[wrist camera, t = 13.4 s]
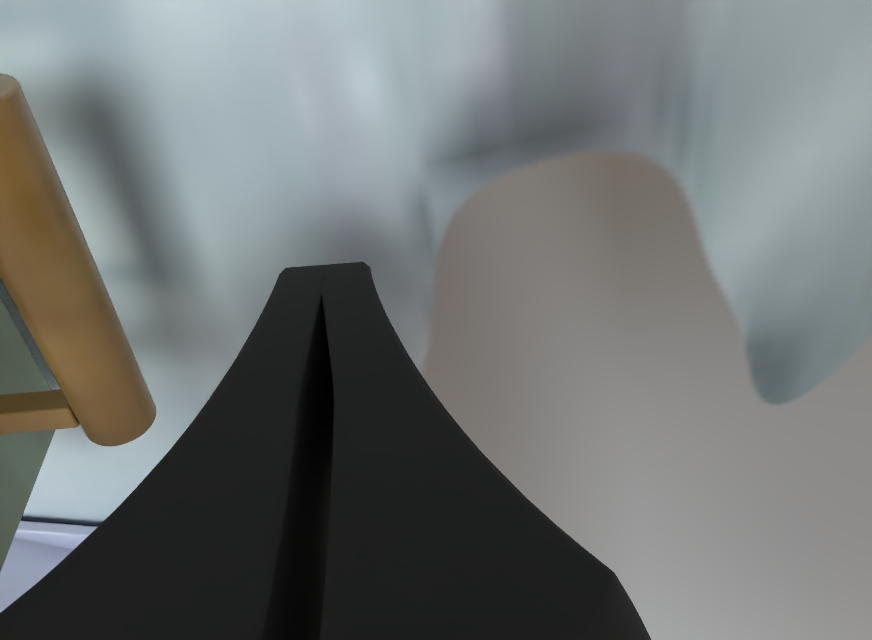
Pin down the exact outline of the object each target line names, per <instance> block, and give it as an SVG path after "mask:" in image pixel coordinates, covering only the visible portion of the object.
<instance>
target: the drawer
mask: <svg viewBox="0 0 872 640" xmlns="http://www.w3.org/2000/svg"><path fill="white" fill-rule="evenodd" d="M0 278H1V280H2V282H3V284H4V285H5V287H6V289H7V291H8V293H9V295H10V296H11V298H12V300H13V302H14V304H15V305H16V307H17V309H18V311H19V313H20V315H21V316H22V318H23V320H24V322H25V324H26V326H27V327H28V329H29V331H30V333H31V335H32V337H33V338H34V340H35V342H36V344H37V346H38V348H39V349H40V351H41V353H42V355H43V357H44V359H45V360H46V362H47V364H48V366H49V368H50V370H51V371H52V373H53V375H54V377H55V379H56V381H57V382H58V384H59V386H60V388H61V389H58V390H52V389H51V387H50V385H49V384H48V382H47V380H46V378H45V376H44V375H43V373H42V371H41V369H40V368H39V366H38V364H37V362H36V360H35V359H34V357H33V355H32V353H31V351H30V350H29V348H28V346H27V344H26V342H25V341H24V339H23V337H22V335H21V334H20V332H19V330H18V328H17V326H16V325H15V323H14V321H13V319H12V317H11V316H10V314H9V312H8V310H7V308H6V307H5V305H4V303H3V301H2V300H1V298H0V572H1V570H2V567H3V565H4V562H5V559H6V557H7V554H8V552H9V549H10V546H11V544H12V541H13V539H14V536H15V533H16V531H17V528H18V526H19V523H20V520H21V518H22V515H23V513H24V510H25V507H26V505H27V502H28V500H29V497H30V495H31V492H32V489H33V487H34V484H35V482H36V479H37V476H38V474H39V471H40V469H41V466H42V463H43V461H44V458H45V456H46V453H47V450H48V448H49V445H50V443H51V440H52V437H53V435H54V432H55V430H56V429H65V428H76V427H78V426H79V423H80V425H81V426H82V428H83V430H84V432H85V434H86V436H87V437H88V438H89V439H90V440H91V441H92V442H94V443H96V444H98V445H102V446H117V445H122V444H125V443H128V442H130V441H133V440H135V439H136V438H138V437H140V436H141V435H142V434H144V433H145V432H146V431H147V430H148V429H149V428H150V426H151V425H152V424H153V422H154V420H155V417H156V406H155V403H154V401H153V399H152V396H151V394H150V391H149V389H148V387H147V384H146V382H145V380H144V377H143V375H142V372H141V370H140V368H139V365H138V363H137V361H136V358H135V356H134V353H133V351H132V349H131V346H130V344H129V342H128V339H127V337H126V335H125V332H124V330H123V327H122V325H121V323H120V320H119V318H118V316H117V313H116V311H115V308H114V306H113V304H112V301H111V299H110V297H109V294H108V292H107V290H106V287H105V285H104V282H103V280H102V278H101V275H100V273H99V271H98V268H97V266H96V263H95V261H94V259H93V256H92V254H91V252H90V249H89V247H88V244H87V242H86V240H85V237H84V235H83V233H82V230H81V228H80V226H79V223H78V221H77V218H76V216H75V214H74V211H73V209H72V207H71V204H70V202H69V199H68V197H67V195H66V192H65V190H64V188H63V185H62V183H61V181H60V178H59V176H58V173H57V171H56V169H55V166H54V164H53V162H52V159H51V157H50V154H49V152H48V150H47V147H46V145H45V143H44V140H43V138H42V135H41V133H40V131H39V128H38V126H37V124H36V121H35V119H34V117H33V114H32V112H31V109H30V107H29V105H28V102H27V100H26V98H25V95H24V93H23V90H22V88H21V86H20V83H19V82H18V81H17V80H16V79H15V78H14V77H12V76H9V75H5V74H0Z"/></svg>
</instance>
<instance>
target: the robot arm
mask: <svg viewBox="0 0 872 640" xmlns="http://www.w3.org/2000/svg"><path fill="white" fill-rule="evenodd" d="M0 640H651V638H650V636H649V634H648V632H647V630H646V628H645V626H644V624H643V622H642V620H641V618H640V616H639V614H638V612H637V610H636V609H635V607H634V605H633V603H632V601H631V600H630V598H629V596H628V595H627V593H626V591H625V589H624V588H623V586H622V585H621V583H620V581H619V580H618V578H617V576H616V575H615V574H614V572H613V571H612V570H611V569H609V568H608V567H607V566H606V565H604V564H603V563H602V562H600V561H599V560H598V559H597V558H595V557H594V556H593V555H592V554H590V553H589V552H588V551H587V550H585V549H584V548H583V547H582V546H580V545H579V544H578V543H577V542H575V540H573V539H572V538H571V537H570V536H569V535H567V534H566V533H565V532H564V531H563V530H562V529H560V528H559V527H558V526H557V525H556V524H554V523H553V522H552V521H551V520H550V519H549V518H548V517H547V516H546V515H545V514H543V513H542V512H541V511H540V510H539V509H538V508H537V507H536V506H535V505H534V504H533V503H531V502H530V501H529V500H528V499H527V498H526V497H525V496H524V495H523V494H522V493H521V492H520V491H519V490H518V489H517V488H516V487H515V486H514V485H513V484H512V483H511V482H510V481H509V480H508V479H507V478H506V477H505V476H504V475H503V474H502V473H501V472H500V471H499V470H498V469H497V468H496V467H495V466H494V465H493V464H492V463H491V461H490V460H489V459H488V458H486V456H485V455H484V454H483V453H482V452H481V451H480V450H479V449H478V448H477V446H476V445H475V444H474V443H473V442H472V441H471V440H470V438H469V437H468V436H467V435H466V434H465V433H464V431H463V430H462V429H461V428H460V427H459V425H458V424H457V423H456V421H455V420H454V419H453V418H452V416H451V415H450V414H449V413H448V412H447V411H446V409H445V408H444V406H443V405H442V404H441V402H440V401H439V400H438V398H437V397H436V396H435V394H434V393H433V391H432V390H431V389H430V387H429V386H428V384H427V383H426V381H425V380H424V378H423V377H422V375H421V374H420V372H419V371H418V369H417V368H416V366H415V364H414V363H413V361H412V360H411V358H410V356H409V355H408V353H407V352H406V350H405V348H404V346H403V344H402V343H401V341H400V339H399V337H398V335H397V334H396V332H395V330H394V328H393V326H392V325H391V323H390V321H389V319H388V317H387V315H386V312H385V310H384V308H383V306H382V303H381V301H380V299H379V296H378V294H377V291H376V288H375V286H374V282H373V279H372V275H371V269H370V267H369V266H368V265H366V264H365V263H364V262H355V263H342V264H329V265H316V266H303V267H290V268H285V269H284V270H283V271H282V272H281V273H280V274H279V277H278V279H277V282H276V284H275V286H274V289H273V291H272V293H271V295H270V297H269V299H268V302H267V304H266V306H265V308H264V309H263V311H262V313H261V315H260V317H259V319H258V321H257V323H256V325H255V327H254V328H253V330H252V332H251V333H250V335H249V337H248V339H247V340H246V342H245V344H244V346H243V347H242V349H241V351H240V352H239V354H238V356H237V358H236V359H235V361H234V362H233V364H232V366H231V367H230V369H229V370H228V372H227V373H226V375H225V376H224V378H223V379H222V381H221V382H220V384H219V385H218V386H217V388H216V389H215V391H214V392H213V394H212V395H211V397H210V398H209V400H208V401H207V403H206V404H205V406H204V407H203V408H202V410H201V411H200V412H199V414H198V415H197V416H196V418H195V419H194V420H193V422H192V423H191V424H190V426H189V427H188V428H187V429H186V431H185V432H184V433H183V435H182V436H181V437H180V438H179V439H178V441H177V442H176V443H175V444H174V446H173V447H172V448H171V449H170V450H169V452H168V453H167V454H166V455H165V456H164V458H163V459H162V460H161V461H160V462H159V463H158V464H157V465H156V467H155V468H154V469H153V470H152V471H151V472H150V473H149V474H148V475H147V477H146V478H145V479H144V480H143V481H142V482H141V483H140V484H139V485H138V487H137V488H136V489H135V490H134V491H133V492H132V493H131V494H130V495H129V496H128V497H127V498H126V499H125V500H124V502H123V503H122V504H121V505H120V506H119V507H118V508H117V509H116V510H115V511H114V512H113V513H112V514H111V515H110V516H109V517H108V518H107V519H106V520H105V521H103V522H102V523H101V524H100V525H99V526H98V527H95V526H82V525H69V524H56V523H43V522H30V521H20V523H19V526H18V528H17V531H16V533H15V536H14V539H13V541H12V544H11V546H10V549H9V552H8V554H7V557H6V559H5V562H4V565H3V567H2V570H1V572H0Z"/></svg>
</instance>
